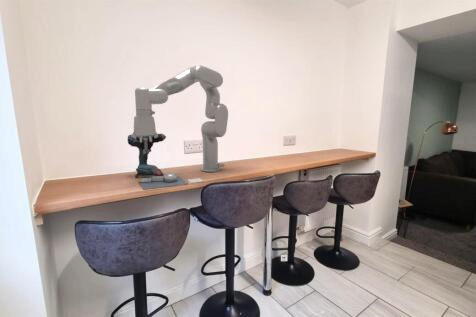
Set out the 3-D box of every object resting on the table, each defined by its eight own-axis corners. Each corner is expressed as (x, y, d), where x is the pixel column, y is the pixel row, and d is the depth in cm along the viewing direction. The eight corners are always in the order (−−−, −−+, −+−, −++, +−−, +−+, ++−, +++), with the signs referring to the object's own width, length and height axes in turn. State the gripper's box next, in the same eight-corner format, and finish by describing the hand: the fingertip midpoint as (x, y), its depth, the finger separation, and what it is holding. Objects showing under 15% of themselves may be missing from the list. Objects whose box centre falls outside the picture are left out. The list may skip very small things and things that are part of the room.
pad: (199, 178, 134) (199, 178, 133) (203, 181, 128) (203, 181, 128) (186, 180, 130) (186, 179, 130) (191, 183, 124) (191, 182, 124)
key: (148, 153, 126) (147, 138, 124) (149, 154, 123) (148, 138, 122) (142, 153, 124) (141, 138, 123) (143, 154, 122) (142, 138, 120)
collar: (178, 178, 131) (178, 172, 130) (176, 182, 124) (175, 175, 123) (142, 179, 129) (142, 172, 129) (138, 182, 122) (138, 175, 122)
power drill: (165, 178, 131) (162, 133, 127) (127, 177, 135) (123, 133, 131) (172, 175, 139) (170, 132, 135) (137, 173, 144) (133, 132, 140)
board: (178, 176, 139) (178, 175, 139) (188, 184, 123) (188, 183, 123) (137, 180, 128) (137, 180, 128) (143, 189, 112) (143, 189, 112)
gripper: (159, 114, 128) (160, 148, 131) (125, 113, 119) (127, 149, 123) (162, 113, 121) (163, 149, 124) (127, 113, 113) (129, 151, 116)
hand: (145, 149), depth 123 cm, fingers closed on key, 2 cm apart
